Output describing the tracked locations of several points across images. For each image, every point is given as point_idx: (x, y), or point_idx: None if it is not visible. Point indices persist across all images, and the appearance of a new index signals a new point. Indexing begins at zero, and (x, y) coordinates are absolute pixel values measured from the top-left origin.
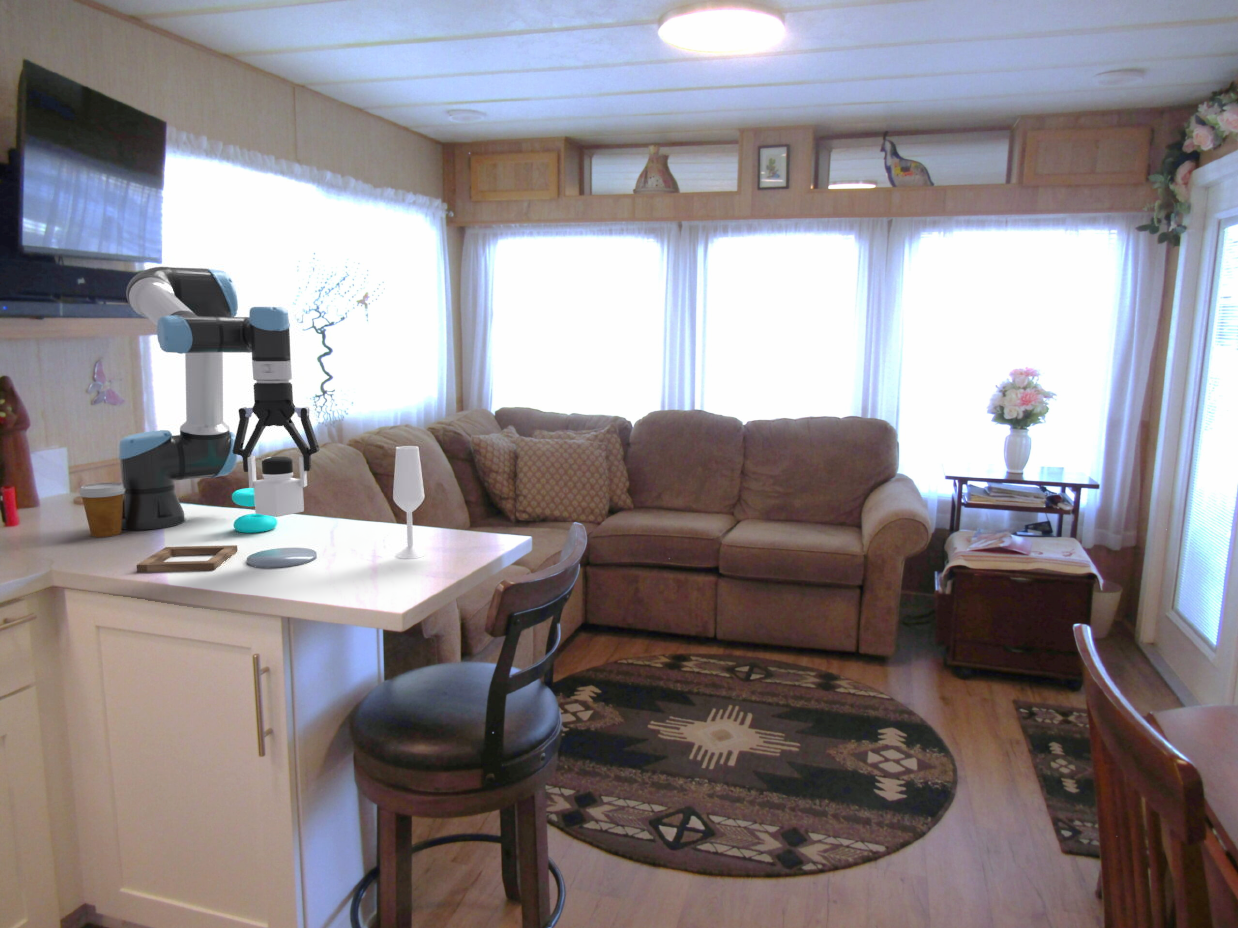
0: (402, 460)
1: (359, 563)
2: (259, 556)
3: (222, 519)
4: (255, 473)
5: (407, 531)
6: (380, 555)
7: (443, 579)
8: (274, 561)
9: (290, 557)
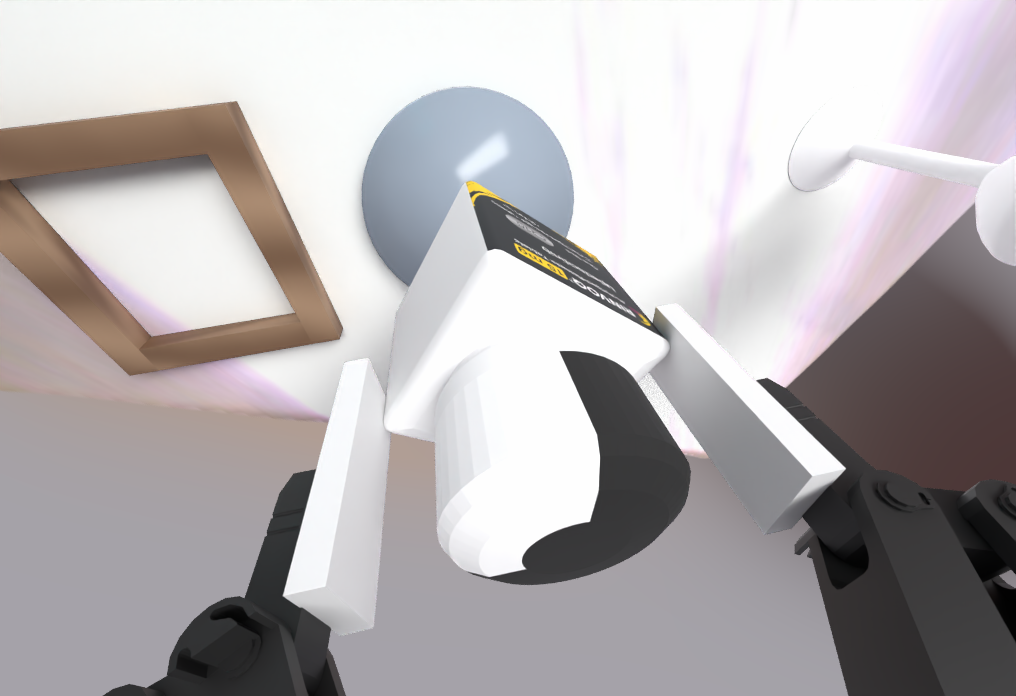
0: None
1: (687, 243)
2: (405, 230)
3: None
4: (361, 435)
5: (899, 166)
6: (752, 152)
7: (816, 336)
8: None
9: None
